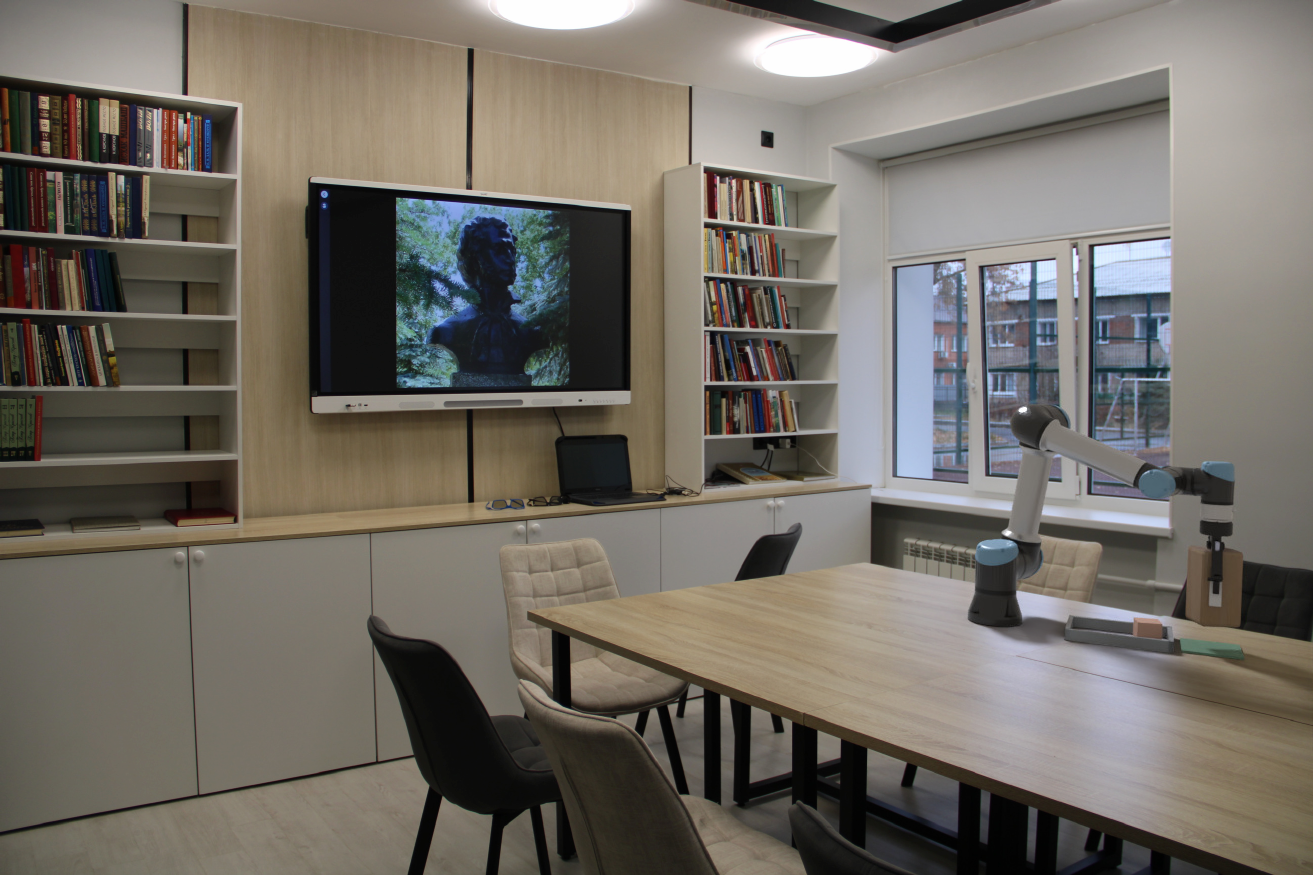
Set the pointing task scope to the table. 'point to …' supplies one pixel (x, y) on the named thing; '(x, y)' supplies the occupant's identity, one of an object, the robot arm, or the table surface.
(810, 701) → the table surface
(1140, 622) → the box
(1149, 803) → the table surface
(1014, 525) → the robot arm
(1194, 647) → the pad
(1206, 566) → the wooden block
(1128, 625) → the bin
